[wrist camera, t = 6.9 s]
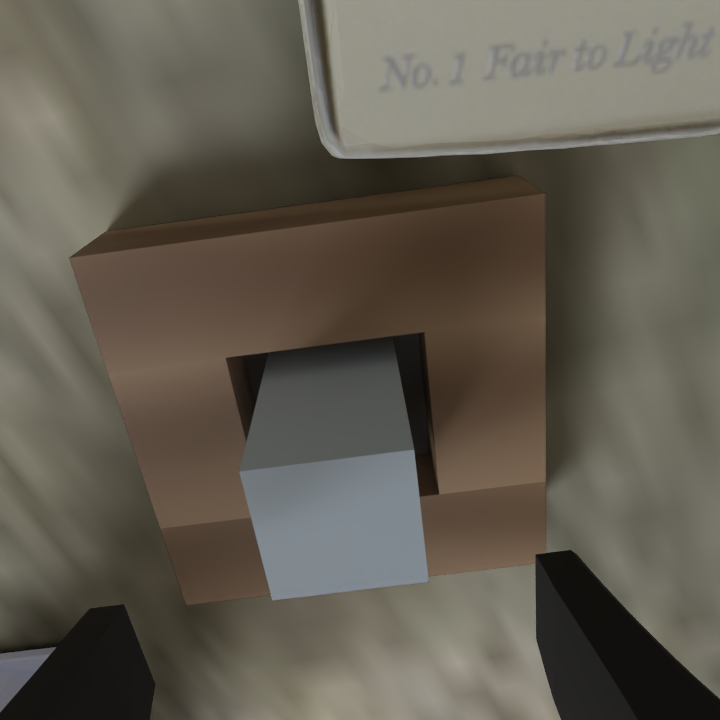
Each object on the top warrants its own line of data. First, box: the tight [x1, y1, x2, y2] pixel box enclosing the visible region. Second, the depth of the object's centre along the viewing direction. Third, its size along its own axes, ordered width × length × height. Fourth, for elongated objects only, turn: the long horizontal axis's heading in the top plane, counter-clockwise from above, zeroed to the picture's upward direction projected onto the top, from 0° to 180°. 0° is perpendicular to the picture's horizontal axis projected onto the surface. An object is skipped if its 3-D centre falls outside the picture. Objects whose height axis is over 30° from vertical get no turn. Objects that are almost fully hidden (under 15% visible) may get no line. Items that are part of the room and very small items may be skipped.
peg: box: [239, 336, 429, 600], centre depth 16 cm, size 4×4×6 cm
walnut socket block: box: [69, 176, 546, 605], centre depth 18 cm, size 11×11×2 cm
